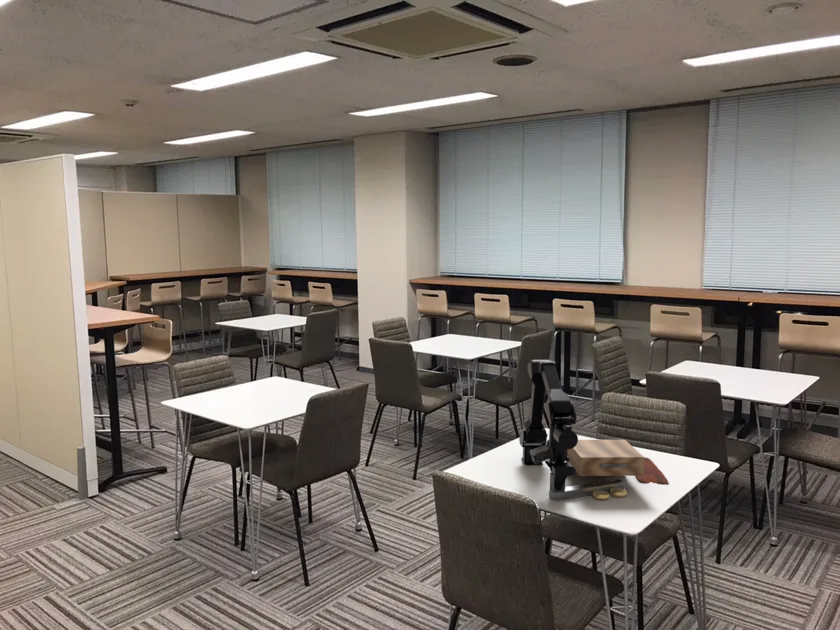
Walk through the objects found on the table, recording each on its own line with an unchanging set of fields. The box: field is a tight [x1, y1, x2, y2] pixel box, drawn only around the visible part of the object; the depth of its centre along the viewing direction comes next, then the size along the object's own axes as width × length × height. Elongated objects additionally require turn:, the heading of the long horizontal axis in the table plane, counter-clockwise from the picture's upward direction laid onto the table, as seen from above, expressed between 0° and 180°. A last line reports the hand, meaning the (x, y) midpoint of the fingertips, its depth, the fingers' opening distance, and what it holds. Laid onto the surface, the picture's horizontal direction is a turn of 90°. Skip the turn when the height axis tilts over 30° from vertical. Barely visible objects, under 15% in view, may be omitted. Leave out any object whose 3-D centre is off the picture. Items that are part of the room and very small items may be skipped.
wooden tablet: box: [635, 456, 670, 485], centre depth 228 cm, size 27×10×2 cm, turn 173°
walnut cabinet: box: [565, 439, 645, 477], centre depth 214 cm, size 20×19×12 cm
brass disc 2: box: [609, 488, 628, 499], centre depth 205 cm, size 5×5×2 cm
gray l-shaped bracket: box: [548, 472, 626, 501], centre depth 206 cm, size 26×3×8 cm, turn 110°
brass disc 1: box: [592, 490, 611, 502], centre depth 203 cm, size 5×5×2 cm
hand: (556, 488), depth 202 cm, fingers closed on gray l-shaped bracket, 3 cm apart
